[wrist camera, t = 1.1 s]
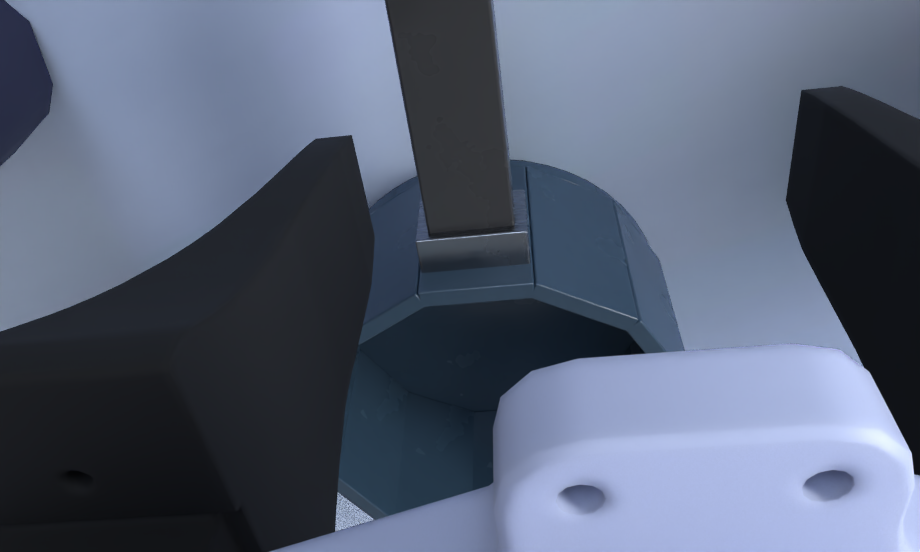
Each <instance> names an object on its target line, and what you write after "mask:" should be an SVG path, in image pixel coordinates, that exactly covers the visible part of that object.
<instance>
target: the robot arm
mask: <svg viewBox="0 0 920 552" xmlns="http://www.w3.org/2000/svg"><path fill="white" fill-rule="evenodd" d="M786 202H787V205H788V209H789V212H790V215H791V218H792V221H793V225H794V228H795V230H796V233H797V236H798V239H799V242H800V245H801V247H802V250H803V252H804V254H805V256H806V258H807V260H808V262H809V264H810V265H811V267H812V269H813V271H814V273H815V275H816V277H817V279H818V281H819V283H820V285H821V286H822V288H823V290H824V292H825V294H826V296H827V297H828V299H829V301H830V303H831V305H832V307H833V309H834V310H835V312H836V314H837V316H838V318H839V320H840V322H841V323H842V325H843V327H844V329H845V331H846V333H847V335H848V336H849V338H850V340H851V342H852V344H853V346H854V348H855V349H856V352H857V354H858V356H859V358H860V360H861V362H862V364H863V366H864V367H862V366H861V365H860V364H858V363H857V362H856V361H854V360H853V359H852V358H850V357H849V356H848V355H846V354H845V353H844V352H842V351H841V350H840V349H834V348H826V347H818V346H810V345H801V344H793V343H787V344H773V345H759V346H745V347H732V348H718V349H704V350H690V351H676V352H662V353H649V354H635V355H621V356H607V357H593V358H579V359H574V360H571V361H567V362H563V363H559V364H556V365H552V366H548V367H545V368H541V369H537V370H533V371H531V372H530V373H528V374H527V375H526V376H525V377H524V378H522V379H521V380H520V381H519V382H518V383H517V384H515V385H514V386H513V387H512V388H511V389H509V390H508V391H507V392H506V393H505V394H504V395H502V396H501V397H500V401H499V405H498V409H497V413H496V418H495V422H494V426H493V483H492V484H491V485H489V486H486V487H483V488H480V489H476V490H473V491H470V492H466V493H463V494H460V495H456V496H453V497H450V498H446V499H443V500H440V501H436V502H433V503H430V504H426V505H423V506H420V507H416V508H413V509H410V510H406V511H403V512H400V513H396V514H393V515H390V516H386V517H383V518H380V519H376V520H373V521H370V522H366V523H363V524H360V525H356V526H353V527H350V528H346V529H343V530H340V531H336V532H335V520H336V504H337V492H338V479H339V467H340V455H341V445H342V435H343V425H344V415H345V406H346V401H347V395H348V389H349V384H350V379H351V375H352V370H353V366H354V362H355V357H356V353H357V348H358V344H359V339H360V335H361V331H362V326H363V322H364V317H365V313H366V308H367V304H368V299H369V294H370V289H371V285H372V273H373V259H374V242H375V235H374V231H373V226H372V222H371V217H370V213H369V209H368V204H367V200H366V196H365V191H364V187H363V182H362V178H361V174H360V169H359V165H358V161H357V156H356V152H355V147H354V143H353V139H352V135H349V136H339V137H329V138H319V139H315V140H314V141H312V142H311V143H310V144H309V145H307V146H306V147H305V148H304V149H303V150H302V151H301V152H300V153H298V154H297V155H296V156H295V157H294V158H293V159H292V160H291V161H290V162H289V163H288V164H287V165H286V166H285V167H284V168H283V169H282V170H280V171H279V172H278V173H277V174H276V175H275V176H274V177H273V178H272V179H271V180H270V181H269V182H268V183H266V184H265V185H264V186H263V187H262V188H261V189H260V190H259V191H258V192H257V193H256V194H254V195H253V196H252V197H251V198H250V199H248V200H247V201H246V202H245V203H244V204H242V205H241V206H240V207H239V208H238V209H236V210H235V211H234V212H233V213H232V214H230V215H229V216H228V217H227V218H226V219H224V220H223V221H222V222H221V223H220V224H218V225H217V226H216V227H214V228H213V229H212V230H210V231H209V232H207V233H206V234H205V235H203V236H202V237H200V238H199V239H198V240H196V241H195V242H193V243H192V244H190V245H189V246H187V247H185V248H184V249H182V250H181V251H179V252H178V253H176V254H175V255H173V256H171V257H170V258H168V259H167V260H165V261H163V262H161V263H159V264H157V265H156V266H154V267H152V268H150V269H148V270H146V271H145V272H143V273H141V274H139V275H137V276H135V277H134V278H132V279H130V280H128V281H126V282H125V283H123V284H120V285H118V286H116V287H114V288H112V289H110V290H108V291H106V292H103V293H101V294H99V295H97V296H95V297H93V298H90V299H88V300H85V301H83V302H81V303H78V304H76V305H74V306H71V307H69V308H66V309H64V310H61V311H59V312H56V313H53V314H51V315H48V316H45V317H42V318H39V319H36V320H33V321H30V322H28V323H25V324H22V325H19V326H16V327H13V328H10V329H7V330H4V331H1V332H0V552H920V120H919V119H917V118H915V117H913V116H911V115H909V114H906V113H904V112H902V111H900V110H898V109H896V108H894V107H892V106H889V105H887V104H885V103H883V102H881V101H879V100H876V99H874V98H872V97H870V96H867V95H865V94H863V93H860V92H858V91H855V90H853V89H850V88H846V87H843V86H838V87H828V88H818V89H808V90H801V97H800V104H799V111H798V118H797V125H796V132H795V139H794V146H793V154H792V161H791V168H790V175H789V182H788V189H787V196H786Z"/></svg>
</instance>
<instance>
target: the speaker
mask: <svg viewBox="0 0 920 552" xmlns="http://www.w3.org/2000/svg"><path fill="white" fill-rule="evenodd" d="M52 87H53V83H52V81H51V78H50V75H49V73H48V70H47V67H46V65H45V62H44V59H43V57H42V54H41V51H40V49H39V46H38V43H37V41H36V38H35V35H34V33H33V30H32V27H31V25H30V22H29V21H28V20H27V19H25V18H24V17H23V16H22V15H21V14H19V13H18V12H17V11H16V10H15V9H14V8H12V7H11V6H10V5H9V4H8V3H6V2H5V1H4V0H0V166H1V165H2V164H3V163H4V162H5V161H6V160H7V159H8V158H9V157H10V156H11V155H13V154H14V153H15V152H16V150H17V149H18V148H19V147H20V146H21V145H22V144H23V142H24V141H25V140H26V139H27V138H28V137H29V135H30V134H31V133H32V132H33V131H34V130H35V128H36V127H37V126H38V125H39V124H40V123H41V122H42V120H43V119H44V118H45V117H46V116H47V115H48V113H49V111H50V103H51V95H52Z"/></svg>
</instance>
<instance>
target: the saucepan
mask: <svg viewBox="0 0 920 552" xmlns="http://www.w3.org/2000/svg"><path fill="white" fill-rule="evenodd" d="M385 4H386V10H387V15H388V20H389V26H390V31H391V36H392V42H393V47H394V53H395V58H396V63H397V69H398V74H399V80H400V85H401V90H402V96H403V101H404V107H405V112H406V117H407V123H408V128H409V133H410V139H411V144H412V150H413V155H414V160H415V166H416V171H417V177H414V178H412V179H410V180H409V181H407V182H405V183H403V184H402V185H400V186H398V187H396V188H395V189H393V190H392V191H390V192H389V193H388V194H386V195H385V196H384V197H383V198H381V199H380V200H379V201H377V202H376V203H375V204H374V205H373V206H372V207H371V208H370V209H369V213H370V217H371V222H372V226H373V231H374V235H375V242H374V259H373V273H372V285H371V289H370V294H369V299H368V304H367V308H366V313H365V317H364V322H363V326H362V331H361V335H360V339H359V344H358V348H357V353H356V357H355V362H354V366H353V370H352V375H351V379H350V384H349V389H348V395H347V401H346V406H345V415H344V425H343V435H342V445H341V455H340V467H339V479H338V492H339V493H340V494H341V495H343V496H344V497H345V498H347V499H348V500H349V501H351V502H352V503H353V504H355V505H356V506H357V507H359V508H360V509H361V510H363V511H364V512H365V513H367V514H368V515H369V516H371V517H372V518H373V519H375V520H376V519H380V518H383V517H386V516H390V515H393V514H396V513H400V512H403V511H406V510H410V509H413V508H416V507H420V506H423V505H426V504H430V503H433V502H436V501H440V500H443V499H446V498H450V497H453V496H456V495H460V494H463V493H466V492H470V491H473V490H476V489H480V488H483V487H486V486H489V485H491V484H492V483H493V426H494V422H495V418H496V413H497V409H498V405H499V401H500V397H501V396H502V395H504V394H505V393H506V392H507V391H508V390H509V389H511V388H512V387H513V386H514V385H515V384H517V383H518V382H519V381H520V380H521V379H522V378H524V377H525V376H526V375H527V374H528V373H530V372H531V371H533V370H537V369H541V368H545V367H548V366H552V365H556V364H559V363H563V362H567V361H571V360H574V359H579V358H593V357H607V356H621V355H635V354H649V353H662V352H676V351H685V350H684V347H683V343H682V339H681V336H680V332H679V329H678V325H677V321H676V318H675V314H674V311H673V307H672V303H671V300H670V296H669V293H668V289H667V285H666V282H665V278H664V275H663V271H662V267H661V264H660V261H659V259H658V257H657V256H656V255H655V253H654V252H653V251H652V249H651V248H650V247H649V245H648V242H647V240H646V238H645V235H644V234H643V232H642V231H641V229H640V228H639V226H638V224H637V223H636V221H635V220H634V219H633V218H632V216H631V215H630V214H629V213H628V212H627V211H626V210H625V209H624V207H623V206H622V205H621V204H619V203H618V202H617V201H616V200H615V199H613V198H612V197H611V196H610V195H609V194H608V193H606V192H605V191H603V190H601V189H600V188H598V187H597V186H595V185H594V184H592V183H590V182H589V181H587V180H585V179H582V178H580V177H578V176H576V175H574V174H572V173H569V172H567V171H564V170H560V169H557V168H554V167H551V166H548V165H543V164H538V163H533V162H528V161H519V160H510V157H509V148H508V138H507V129H506V119H505V109H504V100H503V90H502V81H501V71H500V62H499V52H498V42H497V33H496V23H495V14H494V4H493V0H385Z"/></svg>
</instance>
